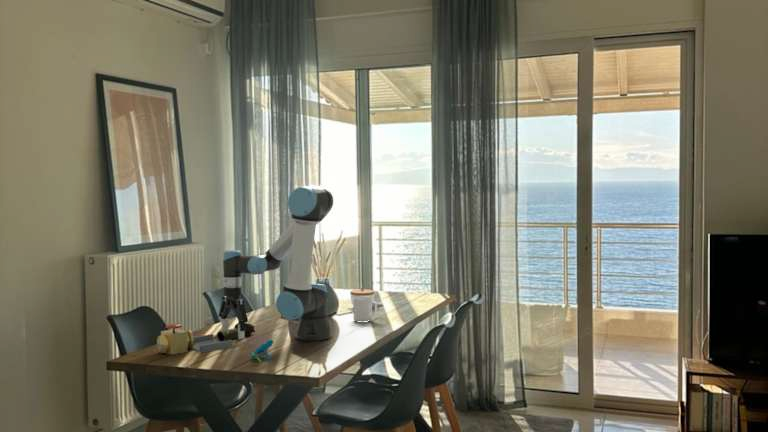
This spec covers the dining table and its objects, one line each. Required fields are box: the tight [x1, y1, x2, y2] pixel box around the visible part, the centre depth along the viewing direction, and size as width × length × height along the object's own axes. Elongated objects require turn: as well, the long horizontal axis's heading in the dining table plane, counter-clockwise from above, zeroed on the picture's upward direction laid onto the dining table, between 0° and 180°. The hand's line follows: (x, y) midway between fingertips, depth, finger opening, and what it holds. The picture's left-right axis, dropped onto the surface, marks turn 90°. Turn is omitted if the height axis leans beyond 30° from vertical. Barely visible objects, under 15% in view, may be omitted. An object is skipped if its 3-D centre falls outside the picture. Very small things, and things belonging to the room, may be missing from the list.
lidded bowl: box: [350, 287, 375, 305], centre depth 360 cm, size 13×13×11 cm
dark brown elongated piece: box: [216, 322, 256, 342], centre depth 292 cm, size 18×7×6 cm, turn 142°
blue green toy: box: [250, 339, 274, 363], centre depth 254 cm, size 11×6×10 cm
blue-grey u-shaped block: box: [191, 333, 234, 353], centre depth 276 cm, size 17×14×3 cm
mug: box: [352, 296, 378, 322], centre depth 326 cm, size 12×9×11 cm
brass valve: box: [156, 322, 195, 356], centre depth 266 cm, size 8×12×11 cm, turn 134°
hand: (233, 336), depth 293 cm, fingers open, 12 cm apart
